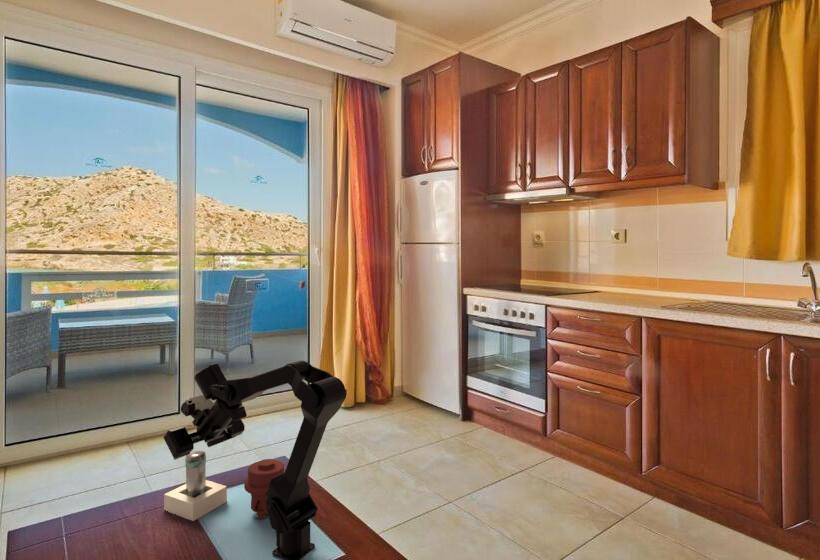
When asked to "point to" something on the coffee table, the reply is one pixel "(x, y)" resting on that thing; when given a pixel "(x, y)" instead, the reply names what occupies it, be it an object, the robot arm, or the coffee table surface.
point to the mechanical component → (261, 483)
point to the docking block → (195, 501)
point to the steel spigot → (195, 473)
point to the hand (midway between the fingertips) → (191, 451)
